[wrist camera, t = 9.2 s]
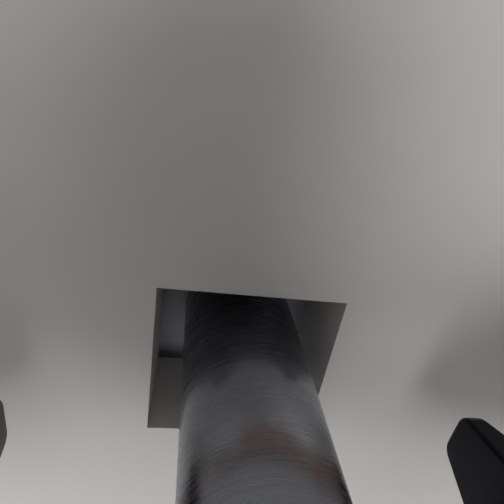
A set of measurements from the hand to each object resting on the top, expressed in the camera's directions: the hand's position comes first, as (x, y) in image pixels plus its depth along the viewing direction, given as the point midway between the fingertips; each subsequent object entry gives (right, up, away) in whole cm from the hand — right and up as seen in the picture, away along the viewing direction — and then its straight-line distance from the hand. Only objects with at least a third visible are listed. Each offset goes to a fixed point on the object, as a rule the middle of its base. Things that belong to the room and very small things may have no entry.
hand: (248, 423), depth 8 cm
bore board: (0, +2, +4) cm, 4 cm away
